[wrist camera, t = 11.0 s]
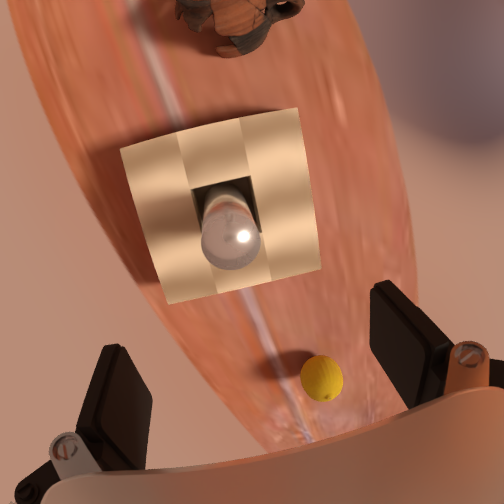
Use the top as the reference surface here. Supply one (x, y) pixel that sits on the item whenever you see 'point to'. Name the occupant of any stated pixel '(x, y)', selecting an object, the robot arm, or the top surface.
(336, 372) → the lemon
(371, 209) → the top surface
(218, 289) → the bore block
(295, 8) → the pottery mug
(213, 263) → the pin
